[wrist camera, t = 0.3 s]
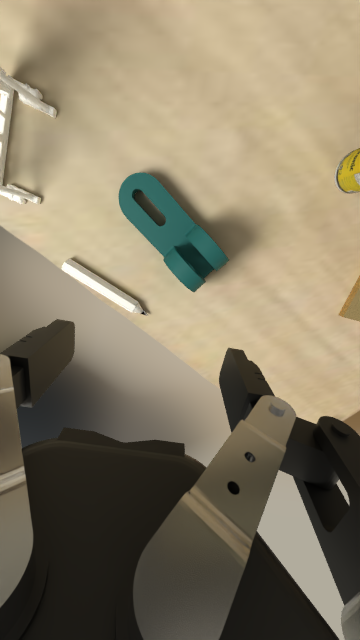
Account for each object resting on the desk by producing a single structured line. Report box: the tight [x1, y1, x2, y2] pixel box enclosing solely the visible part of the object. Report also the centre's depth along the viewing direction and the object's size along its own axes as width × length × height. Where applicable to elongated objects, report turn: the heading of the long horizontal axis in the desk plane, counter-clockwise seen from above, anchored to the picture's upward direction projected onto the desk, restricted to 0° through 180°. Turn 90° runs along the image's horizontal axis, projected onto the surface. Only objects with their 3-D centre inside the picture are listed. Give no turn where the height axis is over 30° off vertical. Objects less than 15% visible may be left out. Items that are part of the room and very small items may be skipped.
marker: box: [62, 258, 147, 315], centre depth 39 cm, size 3×2×16 cm
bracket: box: [119, 173, 229, 292], centre depth 33 cm, size 18×7×8 cm, turn 44°
